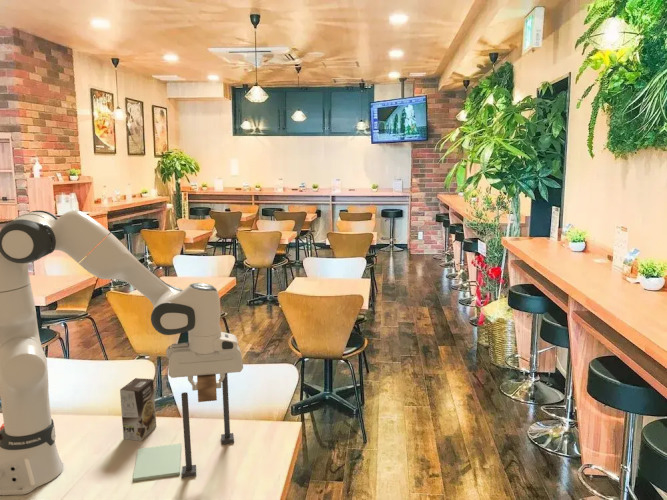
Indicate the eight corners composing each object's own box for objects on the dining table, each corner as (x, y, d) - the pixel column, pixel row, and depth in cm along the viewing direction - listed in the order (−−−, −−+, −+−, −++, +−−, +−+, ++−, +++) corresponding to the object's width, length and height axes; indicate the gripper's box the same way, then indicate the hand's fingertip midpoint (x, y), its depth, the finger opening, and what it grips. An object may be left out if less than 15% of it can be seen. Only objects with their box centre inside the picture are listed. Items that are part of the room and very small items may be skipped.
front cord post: (182, 477, 150) (177, 397, 146) (182, 470, 154) (177, 391, 149) (196, 476, 151) (191, 396, 146) (196, 468, 154) (191, 390, 150)
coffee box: (142, 441, 169) (138, 391, 165) (122, 439, 170) (118, 389, 167) (157, 426, 177) (154, 378, 174) (138, 424, 179) (135, 377, 175)
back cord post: (221, 444, 167) (218, 371, 162) (221, 438, 170) (217, 366, 166) (234, 442, 167) (230, 369, 163) (233, 436, 171) (230, 365, 166)
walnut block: (198, 402, 154) (197, 378, 153) (198, 394, 159) (197, 371, 158) (216, 400, 155) (215, 376, 154) (216, 392, 160) (215, 369, 159)
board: (133, 481, 149) (132, 478, 149) (138, 451, 163) (138, 448, 163) (179, 474, 152) (179, 472, 151) (181, 445, 166) (181, 443, 166)
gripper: (165, 348, 149) (167, 397, 151) (243, 342, 153) (244, 389, 156) (166, 340, 155) (168, 387, 157) (241, 335, 159) (242, 380, 162)
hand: (207, 388), depth 157 cm, fingers closed on walnut block, 5 cm apart
